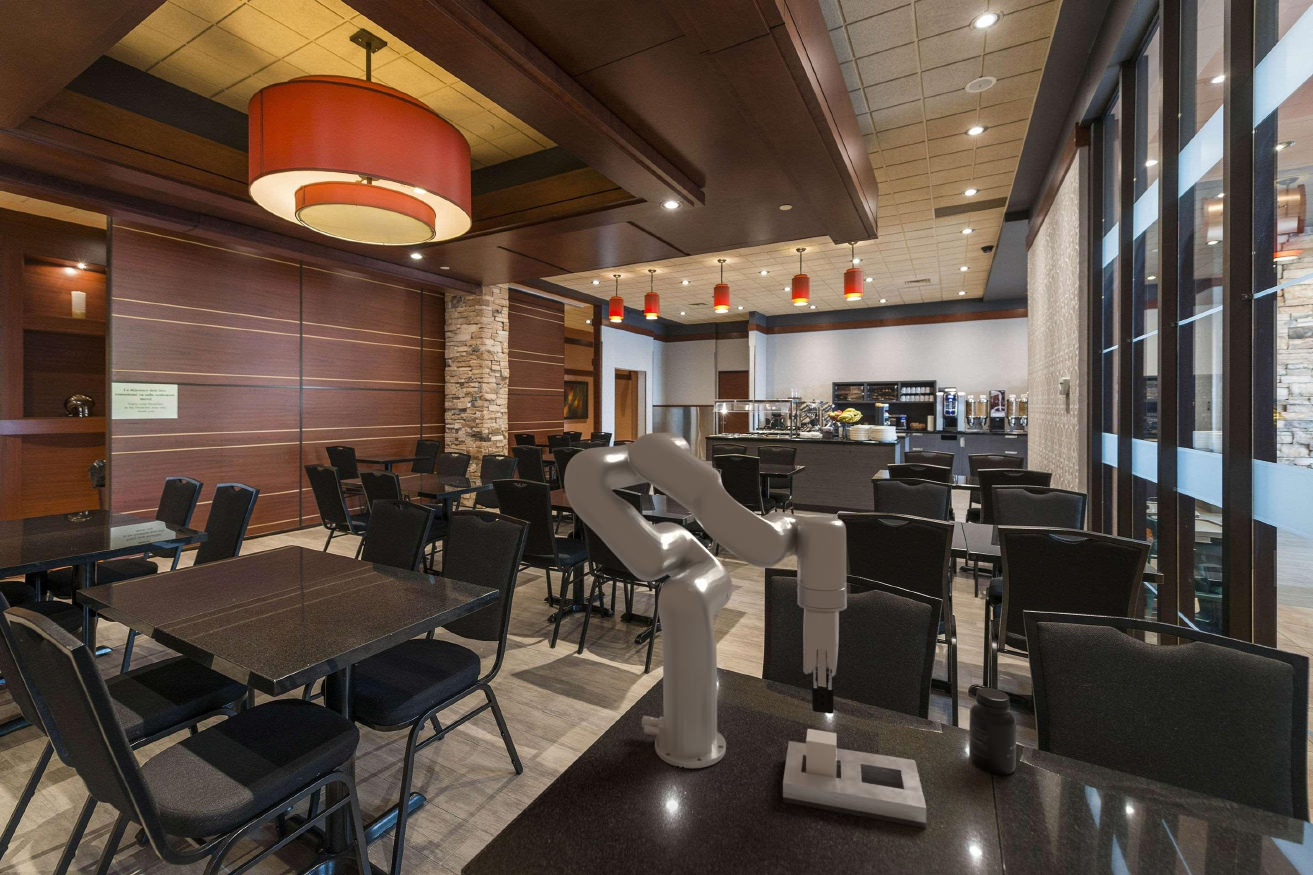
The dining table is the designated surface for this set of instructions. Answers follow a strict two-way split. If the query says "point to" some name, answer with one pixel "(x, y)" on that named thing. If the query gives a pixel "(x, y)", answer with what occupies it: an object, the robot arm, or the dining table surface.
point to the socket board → (858, 786)
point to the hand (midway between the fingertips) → (822, 709)
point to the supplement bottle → (992, 732)
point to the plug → (821, 753)
